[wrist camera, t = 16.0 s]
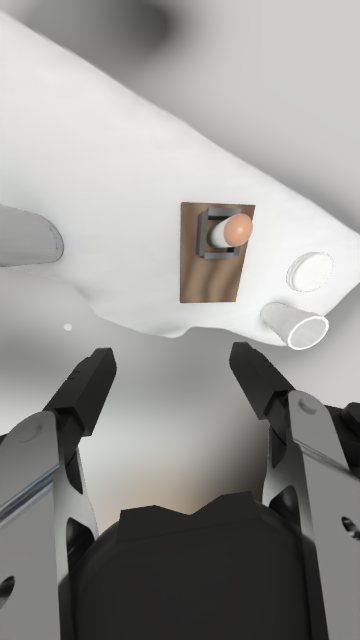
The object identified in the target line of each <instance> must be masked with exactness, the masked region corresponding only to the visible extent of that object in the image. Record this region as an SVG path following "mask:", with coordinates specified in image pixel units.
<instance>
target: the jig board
mask: <svg viewBox="0 0 360 640" xmlns="http://www.w3.org/2000/svg"><path fill="white" fill-rule="evenodd" d="M254 210H255V205H240V204H215V203H189V202H182V203H181V266H180V303H208V302H235V301H236V296H237V291H238V287H239V282H240V277H241V272H242V267H243V262H244V258H245V253H246V248H247V243H248V240H247V241H246V242H245V243H244V244H242V245H240V246H237V247H224V248H211V247H210V246H209V245H208V244H207V241H206V236H207V232H208V231H209V229H210V228H212V227H213V226H215V225H217V224H219V223H221V222H223V221H224V220H226V219H228V218H230V217H232V216H234V215H236V214H246V215H248V216H249V217H250V219H251V220H252V219H253V214H254Z"/></svg>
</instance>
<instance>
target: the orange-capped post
mask: <svg viewBox="0 0 360 640" xmlns="http://www.w3.org/2000/svg"><path fill="white" fill-rule="evenodd" d="M252 229H253V224H252V220H251V219H250V217H249V216H248V215H246V214H236V215H234V216H232V217H230V218H228V219H226V220H224V221H223V222H221V223H219V224H217V225H215V226H213V227H212V228H210V229H209V231H208V232H207V236H206V241H207V244H208V245H209V246H210V247H211V248H224V247H237V246H240V245H242V244H244V243H245V242H246V241H247V240H248V239H249V237H250V236H251V233H252Z"/></svg>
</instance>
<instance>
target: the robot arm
mask: <svg viewBox="0 0 360 640" xmlns="http://www.w3.org/2000/svg"><path fill="white" fill-rule="evenodd" d="M62 253H63V242H62V239H61V236H60V234H59V233H58V231H57V230H56V228H55V227H54V226H53V225H52V224H51V223H50V222H49V221H48V220H46V219H44V218H43V217H41V216H39V215H36V214H33V213H29V212H26V211H22V210H19V209H15V208H12V207H8V206H4V205H1V204H0V267H6V266H16V265H27V264H38V263H48V262H54V261H56V260H58V259H59V258H60V257H61V255H62ZM229 364H230V367H231V370H232V371H233V373H234V375H235V377H236V379H237V381H238V382H239V384H240V386H241V388H242V389H243V391H244V393H245V395H246V397H247V398H248V401H249V402H250V404H251V406H252V408H253V410H254V411H255V413H256V415H257V417H258V419H259V420H263V419H268V421H269V422H270V426H269V442H268V470H267V476H266V479H265V482H264V489H263V503H260V502H257V501H255V500H254V498H253V495H252V492H251V491H247V492H240V493H233V494H226V495H221V496H219V497H218V498H216V499H215V500H213V501H212V502H210V503H209V504H207V505H206V506H204V507H203V508H201V509H200V510H198V511H197V512H195V513H193V514H191V515H186V514H182V513H179V512H176V511H173V510H170V509H166V508H163V507H160V506H156V505H153V506H146V507H140V508H133V509H126V510H121V513H120V519H119V521H118V522H116V523H114V524H113V525H112V526H110V527H109V528H108V529H107V530H105V531H104V532H103V533H102V534H101V535H100V536H99V533H98V528H97V523H96V518H95V514H94V511H93V508H92V505H91V503H90V501H89V498H88V494H87V490H86V485H85V480H84V475H83V469H82V464H81V459H80V454H79V449H78V444H79V442H80V439H81V437H86V436H91V435H92V432H93V430H94V427H95V425H96V423H97V420H98V418H99V415H100V413H101V410H102V408H103V405H104V403H105V400H106V398H107V395H108V393H109V390H110V388H111V385H112V383H113V380H114V378H115V375H116V371H117V370H116V369H117V367H116V362H115V359H114V355H113V351H112V349H111V348H97V349H96V350H95V351H94V352H93V354H92V355H91V356H90V357H87V358H85V359H84V360H83V361H81V362H80V363H79V364H78V365H77V366H76V367H75V369H74V370H73V372H72V373H71V374H70V375H69V377H68V378H67V380H65V382H64V383H63V384H62V386H61V387H60V388H59V389H58V391H57V392H56V393H55V395H54V396H53V397H52V399H51V400H50V401H49V403H48V404H47V405H46V406H45V408H44V409H43V410H42V411H41V412H38V413H35V414H33V415H31V416H29V417H28V418H26V419H24V420H23V421H21V422H20V423H19V424H17V425H16V426H15V427H14V428H13V429H12V430H11V431H10V432H9V433H7V434H5V435H2V436H0V640H360V403H355V402H352V403H349V404H348V405H347V406H346V407H345V408H344V409H341V408H337V407H332V406H328V405H323V404H322V403H321V402H320V401H319V400H318V399H316V398H315V397H313V396H311V395H310V394H308V393H306V392H303V391H299V390H296V389H295V388H294V387H293V386H292V385H291V384H290V383H289V382H288V381H287V380H286V378H285V377H284V376H283V375H282V374H281V373H280V372H279V371H278V370H277V369H276V368H275V367H274V366H273V365H272V364H271V362H269V360H268V359H267V358H266V357H265V356H264V355H263V354H262V353H260V352H259V351H257V350H256V349H253V348H252V347H251V346H250V345H249V344H248V343H247V342H235V343H234V344H233V347H232V351H231V355H230V359H229Z"/></svg>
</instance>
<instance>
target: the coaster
mask: <svg viewBox="0 0 360 640" xmlns="http://www.w3.org/2000/svg"><path fill="white" fill-rule="evenodd" d="M332 269H333V259H332V257H331V256H330V255H328V254H326V253H307V254H304V255H302V256H301V257H299V258H298V259H297V260H296V261H295V262H294V263H293V264H292V265H291V267H290V268H289V270H288V273H287V278H286V280H287V284H288V286H289V287H290V288H292V289H294V290H297V291H300V292H310V291H313V290H315V289H317V288H319V287H320V286H321V285H322V284H324V283H325V282H326V280H327V279H328V278H329V276H330V274H331V272H332Z"/></svg>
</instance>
